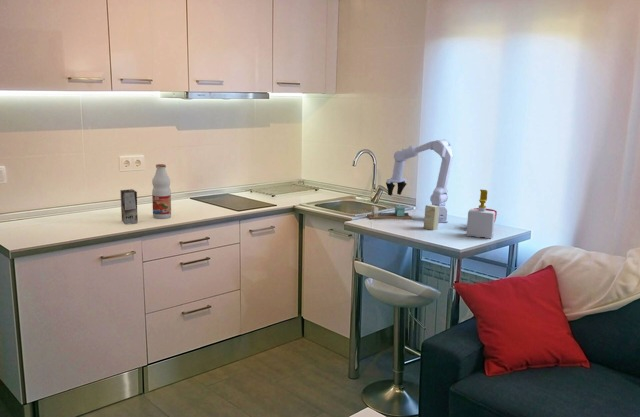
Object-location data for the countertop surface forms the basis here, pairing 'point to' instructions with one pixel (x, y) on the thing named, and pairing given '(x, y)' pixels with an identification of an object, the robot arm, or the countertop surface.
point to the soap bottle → (481, 219)
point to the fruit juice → (161, 193)
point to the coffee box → (129, 206)
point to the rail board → (386, 215)
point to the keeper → (399, 210)
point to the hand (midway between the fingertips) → (394, 194)
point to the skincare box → (431, 217)
